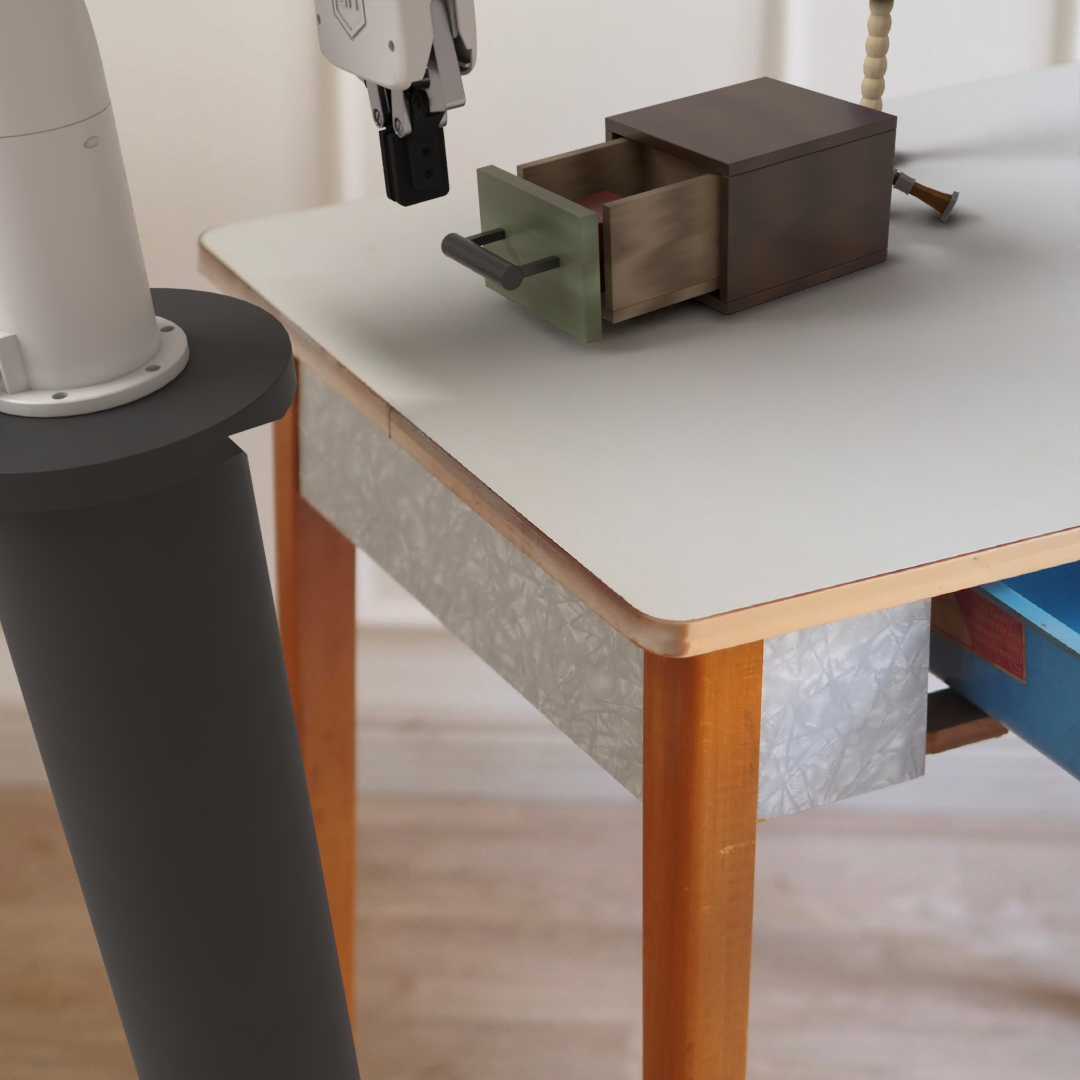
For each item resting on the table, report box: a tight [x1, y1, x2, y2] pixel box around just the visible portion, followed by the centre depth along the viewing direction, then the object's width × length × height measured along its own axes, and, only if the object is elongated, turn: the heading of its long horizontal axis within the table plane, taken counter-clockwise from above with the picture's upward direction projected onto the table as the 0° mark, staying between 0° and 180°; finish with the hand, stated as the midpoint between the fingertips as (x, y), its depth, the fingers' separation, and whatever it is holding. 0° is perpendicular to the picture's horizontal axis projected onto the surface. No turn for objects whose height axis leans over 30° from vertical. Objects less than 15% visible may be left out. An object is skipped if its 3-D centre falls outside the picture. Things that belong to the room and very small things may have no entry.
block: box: [570, 190, 623, 293], centre depth 93 cm, size 4×4×4 cm
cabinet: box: [604, 75, 898, 315], centre depth 98 cm, size 14×13×10 cm
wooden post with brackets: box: [892, 166, 960, 223], centre depth 105 cm, size 2×8×4 cm, turn 72°
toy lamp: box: [858, 0, 895, 112], centre depth 111 cm, size 5×5×17 cm
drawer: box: [440, 137, 722, 344], centre depth 92 cm, size 17×11×8 cm
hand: (418, 196), depth 84 cm, fingers closed
